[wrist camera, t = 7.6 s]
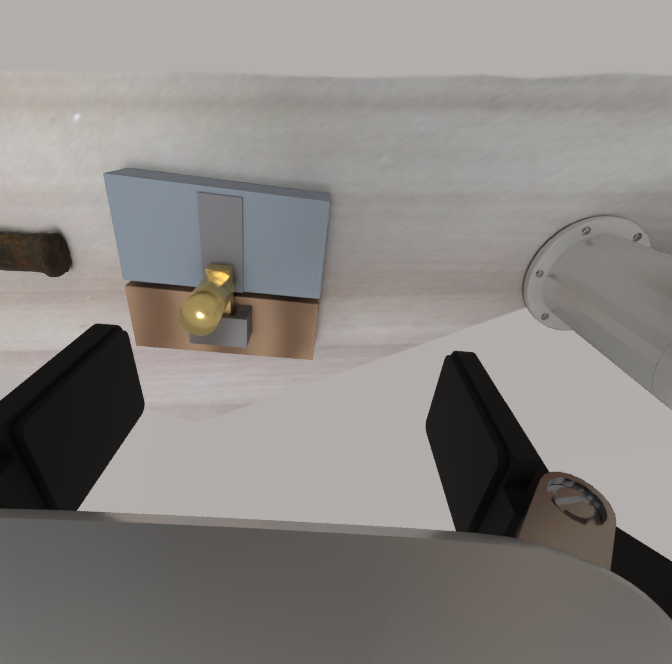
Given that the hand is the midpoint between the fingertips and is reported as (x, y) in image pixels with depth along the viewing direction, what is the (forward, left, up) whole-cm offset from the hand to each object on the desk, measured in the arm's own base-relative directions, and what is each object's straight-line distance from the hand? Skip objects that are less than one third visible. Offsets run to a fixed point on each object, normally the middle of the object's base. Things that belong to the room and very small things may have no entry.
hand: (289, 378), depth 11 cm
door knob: (+7, +9, -22) cm, 24 cm away
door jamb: (+7, +12, -26) cm, 30 cm away
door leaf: (+7, +3, -26) cm, 28 cm away
